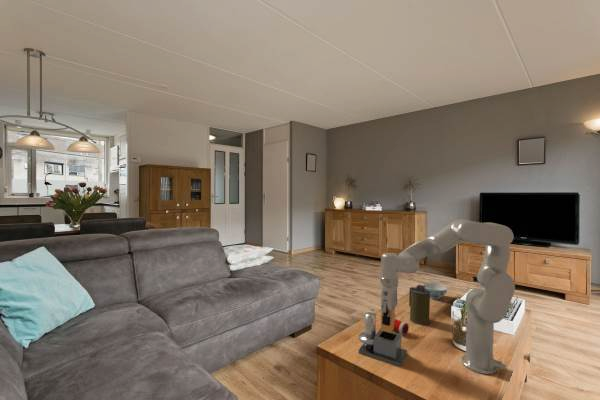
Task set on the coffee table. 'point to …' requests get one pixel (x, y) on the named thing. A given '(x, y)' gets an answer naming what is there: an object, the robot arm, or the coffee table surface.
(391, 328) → the orange rectangular block
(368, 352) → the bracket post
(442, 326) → the coffee table surface
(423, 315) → the canister
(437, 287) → the chinaware
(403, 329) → the toy hammer
